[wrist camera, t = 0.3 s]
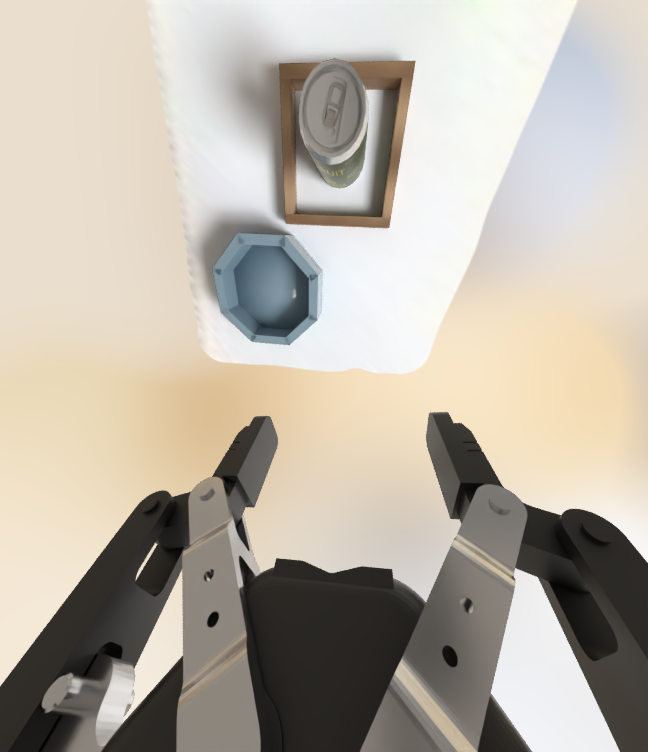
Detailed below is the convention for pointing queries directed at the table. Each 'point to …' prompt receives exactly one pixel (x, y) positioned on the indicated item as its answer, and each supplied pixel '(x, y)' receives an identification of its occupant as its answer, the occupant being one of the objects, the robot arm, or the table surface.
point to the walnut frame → (391, 78)
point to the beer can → (335, 121)
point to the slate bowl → (268, 287)
